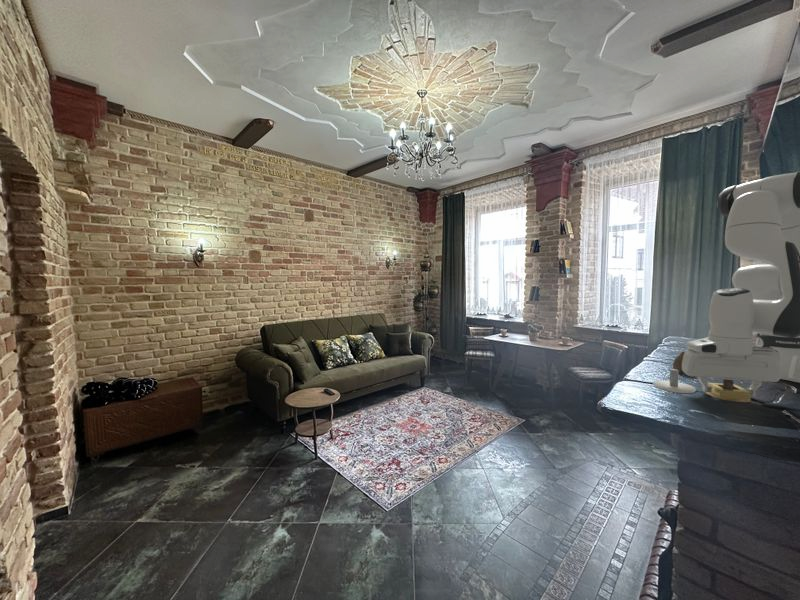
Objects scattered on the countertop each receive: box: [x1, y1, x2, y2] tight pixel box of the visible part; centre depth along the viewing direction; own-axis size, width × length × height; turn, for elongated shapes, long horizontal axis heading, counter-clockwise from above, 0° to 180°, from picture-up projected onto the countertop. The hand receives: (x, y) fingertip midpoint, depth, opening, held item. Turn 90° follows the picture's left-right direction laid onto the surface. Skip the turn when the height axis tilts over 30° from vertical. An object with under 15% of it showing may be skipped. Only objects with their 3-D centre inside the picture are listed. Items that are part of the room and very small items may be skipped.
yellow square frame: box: [707, 382, 751, 402], centre depth 90 cm, size 6×6×2 cm
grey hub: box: [652, 368, 697, 394], centre depth 98 cm, size 10×10×7 cm
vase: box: [672, 351, 688, 376], centre depth 112 cm, size 7×7×9 cm
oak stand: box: [705, 378, 752, 403], centre depth 90 cm, size 9×9×6 cm
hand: (727, 393), depth 90 cm, fingers open, 8 cm apart
